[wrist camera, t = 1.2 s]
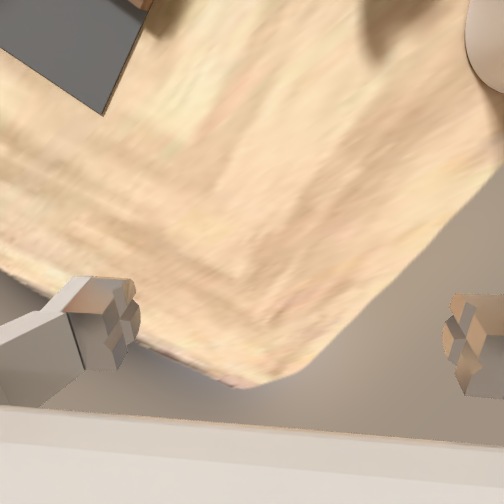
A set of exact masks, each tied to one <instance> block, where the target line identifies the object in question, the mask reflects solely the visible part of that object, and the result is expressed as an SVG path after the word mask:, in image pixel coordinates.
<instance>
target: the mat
mask: <svg viewBox="0 0 504 504" xmlns="http://www.w3.org/2000/svg"><path fill="white" fill-rule="evenodd" d="M147 13H148V11H146V10H141V9H139V8H138V7H136V6H135V5H134V4H132V3H131V2H130V1H128V0H0V47H1V48H3V49H4V50H6V51H7V52H9V53H10V54H12V55H13V56H15V57H16V58H17V59H19V60H20V61H22V62H23V63H25V64H26V65H28V66H29V67H31V68H32V69H34V70H35V71H37V72H38V73H40V74H41V75H43V76H44V77H46V78H47V79H49V80H50V81H52V82H53V83H55V84H56V85H58V86H59V87H61V88H62V89H64V90H65V91H67V92H68V93H70V94H71V95H72V96H74V97H75V98H77V99H78V100H80V101H81V102H83V103H84V104H86V105H87V106H89V107H90V108H92V109H93V110H95V111H96V112H98V113H99V114H102V112H103V110H104V108H105V106H106V103H107V101H108V99H109V97H110V95H111V92H112V90H113V88H114V86H115V84H116V81H117V79H118V77H119V75H120V73H121V70H122V68H123V66H124V64H125V62H126V59H127V57H128V55H129V53H130V51H131V48H132V46H133V44H134V42H135V40H136V37H137V35H138V33H139V31H140V29H141V26H142V24H143V22H144V20H145V18H146V15H147Z"/></svg>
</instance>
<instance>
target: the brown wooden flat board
mask: <svg viewBox="0 0 504 504" xmlns="http://www.w3.org/2000/svg"><path fill="white" fill-rule="evenodd" d="M128 1H130V2H131V3H132V4H134V5H135V6H136V7H138V8H139V9H141V10H146V11H149V9H150V7H151V4H152V2H153V0H128Z"/></svg>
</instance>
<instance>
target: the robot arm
mask: <svg viewBox="0 0 504 504" xmlns="http://www.w3.org/2000/svg"><path fill="white" fill-rule="evenodd" d="M465 42H466V49H467V54H468V57H469V60H470V63H471V65H472V67H473V69H474V71H475V72H476V74H477V75H478V76H479V77H480V79H481V80H482V81H483V82H484V83H485V84H487V85H488V86H489V87H491V88H492V89H494V90H496V91H498V92H500V93H503V94H504V0H470V4H469V9H468V13H467V18H466V26H465ZM135 294H136V289H135V285H134V282H133V281H132V280H131V279H128V278H113V277H98V276H95V277H94V276H74V277H72V278H71V279H70V280H69V281H68V282H67V283H66V284H65V285H64V286H63V287H62V289H61V290H60V291H59V292H58V293H57V294H56V295H55V296H54V297H53V298H52V299H51V300H50V301H49V302H48V303H47V304H46V305H45V307H43V309H42V310H41V311H33V312H31V313H28V314H26V315H24V316H22V317H20V318H17V319H16V320H13V321H11V322H9V323H6V324H4V325H2V326H0V504H504V446H501V445H488V444H475V443H463V442H452V441H440V440H428V439H416V438H404V437H392V436H380V435H368V434H356V433H344V432H332V431H319V430H307V429H295V428H282V427H270V426H257V425H245V424H232V423H220V422H207V421H195V420H183V419H182V420H181V419H170V418H158V417H144V416H133V415H121V414H109V413H96V412H84V411H72V410H59V409H47V408H38V407H40V406H41V405H42V404H43V403H45V402H46V401H47V400H49V399H50V398H51V397H53V396H54V395H55V394H57V393H58V392H59V391H60V390H62V389H63V388H64V387H66V386H67V385H68V384H70V383H71V382H72V381H73V380H75V379H76V378H77V377H79V376H80V375H81V374H83V373H84V372H85V371H84V370H93V371H118V369H119V367H120V365H121V364H122V362H123V360H124V358H125V356H126V354H127V353H128V352H127V348H126V345H128V344H129V343H131V342H132V341H134V340H135V338H136V336H137V334H138V331H139V327H140V309H139V305H138V304H137V303H136V302H135V301H134V300H133V299H132V298H133V297H134V295H135ZM449 308H450V309H451V311H452V313H453V316H452V317H450V318H449V319H448V320H447V321H445V324H444V329H443V333H442V341H443V347H444V352H445V354H446V356H447V359H448V360H449V361H451V362H452V363H453V364H455V365H456V366H457V367H456V370H455V376H456V378H457V380H458V382H459V385H460V386H461V389H462V391H463V393H464V395H465V396H472V397H482V398H493V399H503V400H504V294H503V295H502V294H501V295H490V294H455V295H454V296H453V298H452V300H451V303H450V307H449Z"/></svg>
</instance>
